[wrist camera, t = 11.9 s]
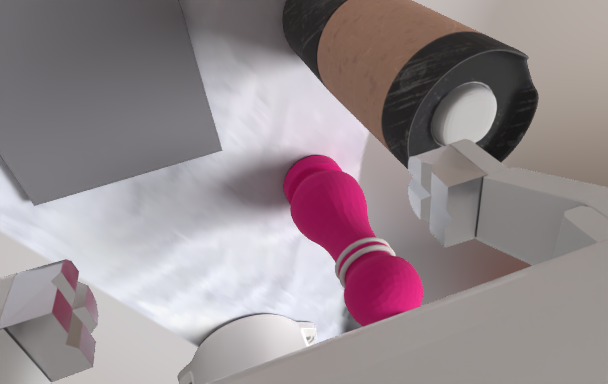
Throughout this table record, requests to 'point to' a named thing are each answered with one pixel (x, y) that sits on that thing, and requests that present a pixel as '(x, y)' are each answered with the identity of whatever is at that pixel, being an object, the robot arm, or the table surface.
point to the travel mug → (415, 74)
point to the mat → (97, 93)
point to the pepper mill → (350, 240)
